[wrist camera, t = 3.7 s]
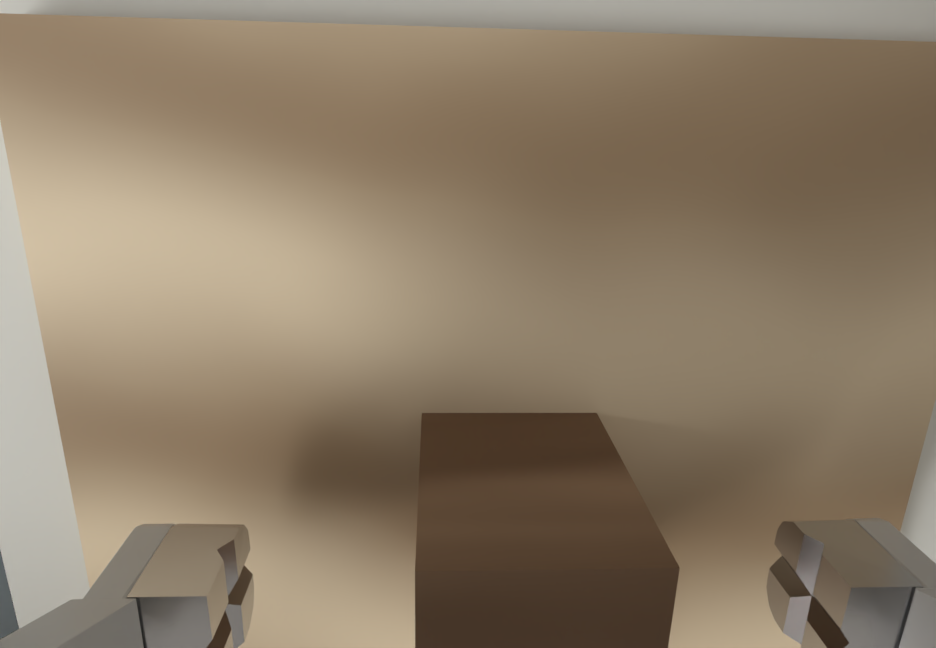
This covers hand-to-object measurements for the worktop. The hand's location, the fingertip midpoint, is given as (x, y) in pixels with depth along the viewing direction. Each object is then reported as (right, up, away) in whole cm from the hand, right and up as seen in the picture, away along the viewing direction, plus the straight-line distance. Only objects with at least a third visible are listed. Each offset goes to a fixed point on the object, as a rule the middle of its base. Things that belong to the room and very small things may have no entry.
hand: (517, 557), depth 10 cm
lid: (0, +1, +2) cm, 3 cm away
